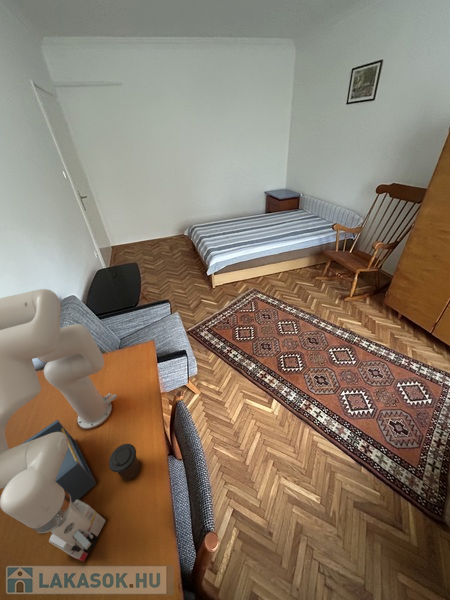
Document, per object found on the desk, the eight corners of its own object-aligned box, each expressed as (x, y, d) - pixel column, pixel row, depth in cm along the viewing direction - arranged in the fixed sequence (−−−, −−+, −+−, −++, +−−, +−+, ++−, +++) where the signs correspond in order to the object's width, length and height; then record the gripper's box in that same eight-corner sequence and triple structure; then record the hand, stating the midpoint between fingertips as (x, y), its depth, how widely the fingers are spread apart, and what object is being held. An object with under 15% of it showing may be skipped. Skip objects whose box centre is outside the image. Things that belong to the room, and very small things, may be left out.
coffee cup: (119, 490, 74) (107, 476, 69) (117, 463, 81) (107, 448, 75) (145, 476, 77) (136, 462, 71) (142, 452, 83) (133, 437, 77)
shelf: (75, 440, 88) (57, 419, 81) (96, 483, 76) (77, 463, 69) (28, 475, 80) (3, 455, 72) (43, 530, 68) (15, 513, 60)
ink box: (83, 562, 62) (62, 551, 55) (69, 554, 63) (46, 542, 57) (107, 519, 68) (90, 505, 62) (93, 513, 70) (75, 498, 63)
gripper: (87, 514, 52) (114, 537, 62) (47, 470, 60) (76, 497, 70) (53, 557, 47) (88, 575, 56) (14, 503, 55) (50, 527, 65)
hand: (81, 532), depth 63 cm, fingers open, 9 cm apart
